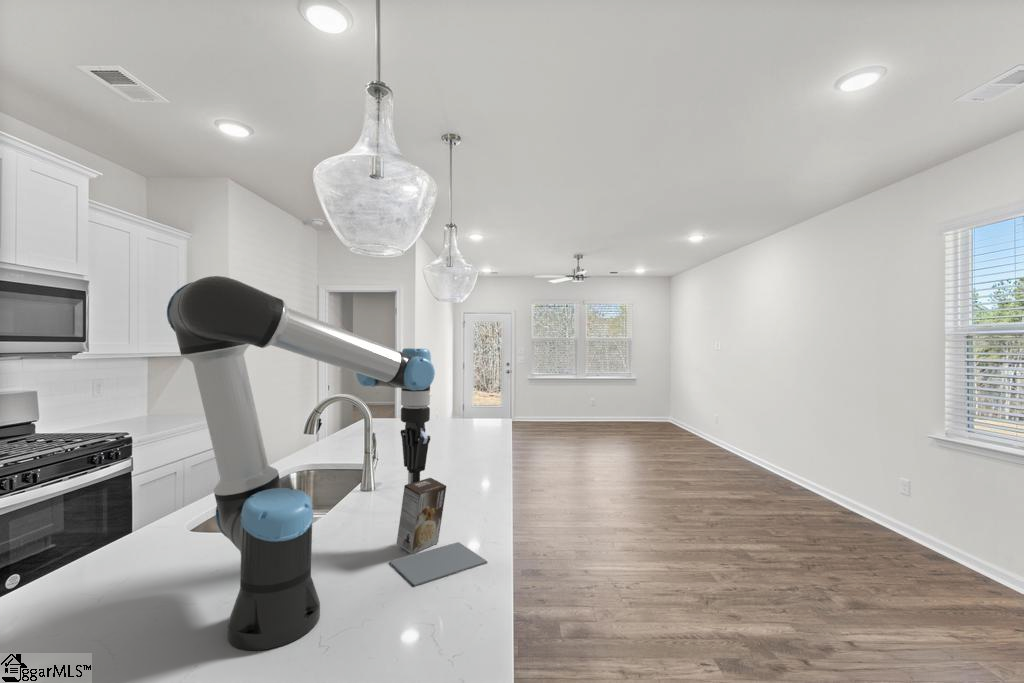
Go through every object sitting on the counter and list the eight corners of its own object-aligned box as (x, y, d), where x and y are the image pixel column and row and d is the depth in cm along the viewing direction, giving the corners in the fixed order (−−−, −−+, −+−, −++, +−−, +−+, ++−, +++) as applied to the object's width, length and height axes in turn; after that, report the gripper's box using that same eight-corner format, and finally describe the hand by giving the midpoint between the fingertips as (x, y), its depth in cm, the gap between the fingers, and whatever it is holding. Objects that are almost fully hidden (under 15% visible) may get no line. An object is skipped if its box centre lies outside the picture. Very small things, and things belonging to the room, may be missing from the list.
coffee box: (422, 532, 125) (431, 476, 123) (438, 543, 121) (447, 485, 119) (395, 543, 117) (404, 484, 116) (411, 555, 114) (420, 494, 112)
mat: (414, 586, 99) (414, 584, 99) (389, 563, 109) (389, 561, 109) (487, 562, 110) (487, 561, 110) (458, 543, 121) (458, 542, 121)
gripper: (440, 408, 119) (438, 500, 118) (417, 403, 129) (415, 487, 128) (413, 410, 114) (411, 505, 114) (392, 404, 124) (390, 492, 124)
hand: (413, 495), depth 121 cm, fingers closed
